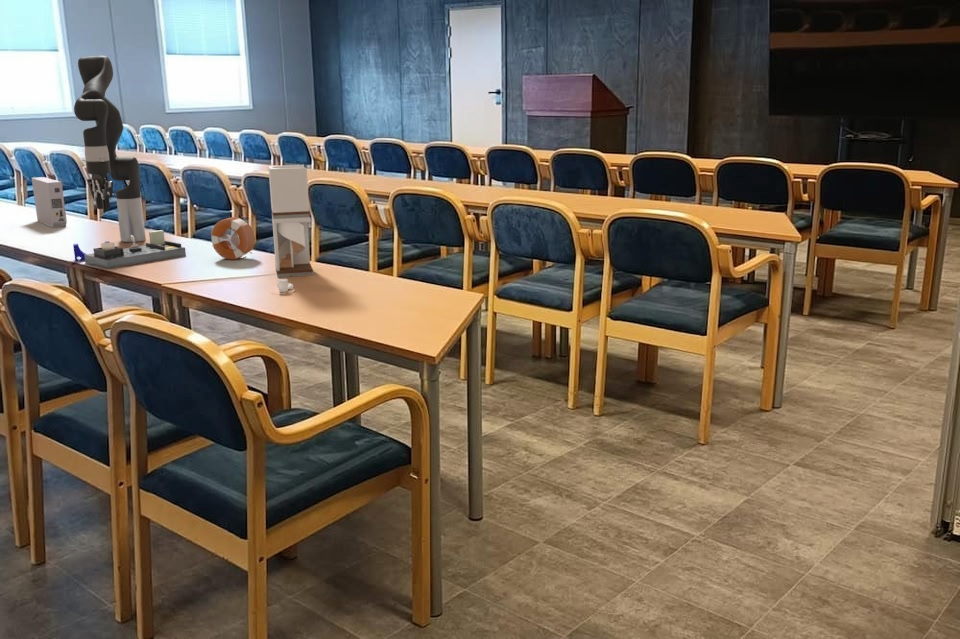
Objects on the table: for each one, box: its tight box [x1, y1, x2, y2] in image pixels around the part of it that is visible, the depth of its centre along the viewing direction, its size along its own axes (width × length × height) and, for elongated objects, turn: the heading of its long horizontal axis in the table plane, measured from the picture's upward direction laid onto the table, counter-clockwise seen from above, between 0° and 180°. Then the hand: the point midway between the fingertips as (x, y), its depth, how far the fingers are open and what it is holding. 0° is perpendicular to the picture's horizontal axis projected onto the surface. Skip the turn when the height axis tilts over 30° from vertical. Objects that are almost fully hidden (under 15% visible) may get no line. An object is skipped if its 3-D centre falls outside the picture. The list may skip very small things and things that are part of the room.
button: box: [100, 241, 115, 250], centre depth 312 cm, size 4×4×3 cm
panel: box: [84, 240, 187, 270], centre depth 320 cm, size 16×30×6 cm, turn 139°
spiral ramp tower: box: [268, 164, 314, 278], centre depth 291 cm, size 11×11×35 cm
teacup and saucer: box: [276, 278, 294, 293], centre depth 270 cm, size 9×8×4 cm
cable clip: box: [72, 241, 110, 262], centre depth 322 cm, size 12×4×6 cm, turn 113°
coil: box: [210, 215, 256, 261], centre depth 318 cm, size 7×15×15 cm, turn 78°
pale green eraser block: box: [148, 229, 166, 245], centre depth 330 cm, size 2×5×5 cm, turn 139°
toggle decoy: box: [130, 235, 140, 248], centre depth 320 cm, size 1×2×5 cm, turn 139°
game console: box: [31, 176, 68, 228], centre depth 398 cm, size 6×27×20 cm, turn 40°
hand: (103, 209), depth 308 cm, fingers open, 4 cm apart
